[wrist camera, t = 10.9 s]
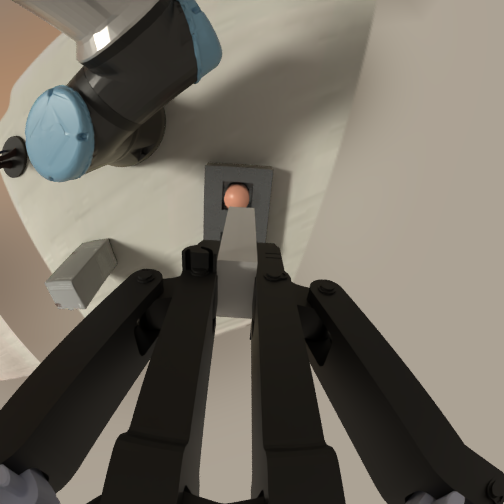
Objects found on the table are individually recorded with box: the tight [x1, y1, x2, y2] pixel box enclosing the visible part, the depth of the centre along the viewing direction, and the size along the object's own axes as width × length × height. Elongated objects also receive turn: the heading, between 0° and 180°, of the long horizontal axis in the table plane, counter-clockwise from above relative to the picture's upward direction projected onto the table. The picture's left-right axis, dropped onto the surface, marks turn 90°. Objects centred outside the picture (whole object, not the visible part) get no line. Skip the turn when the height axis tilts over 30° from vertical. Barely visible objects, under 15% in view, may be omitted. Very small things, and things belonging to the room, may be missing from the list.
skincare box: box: [45, 239, 117, 310], centre depth 46 cm, size 8×7×16 cm
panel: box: [204, 162, 273, 243], centre depth 50 cm, size 11×28×4 cm, turn 175°
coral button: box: [224, 183, 249, 208], centre depth 45 cm, size 4×4×4 cm
